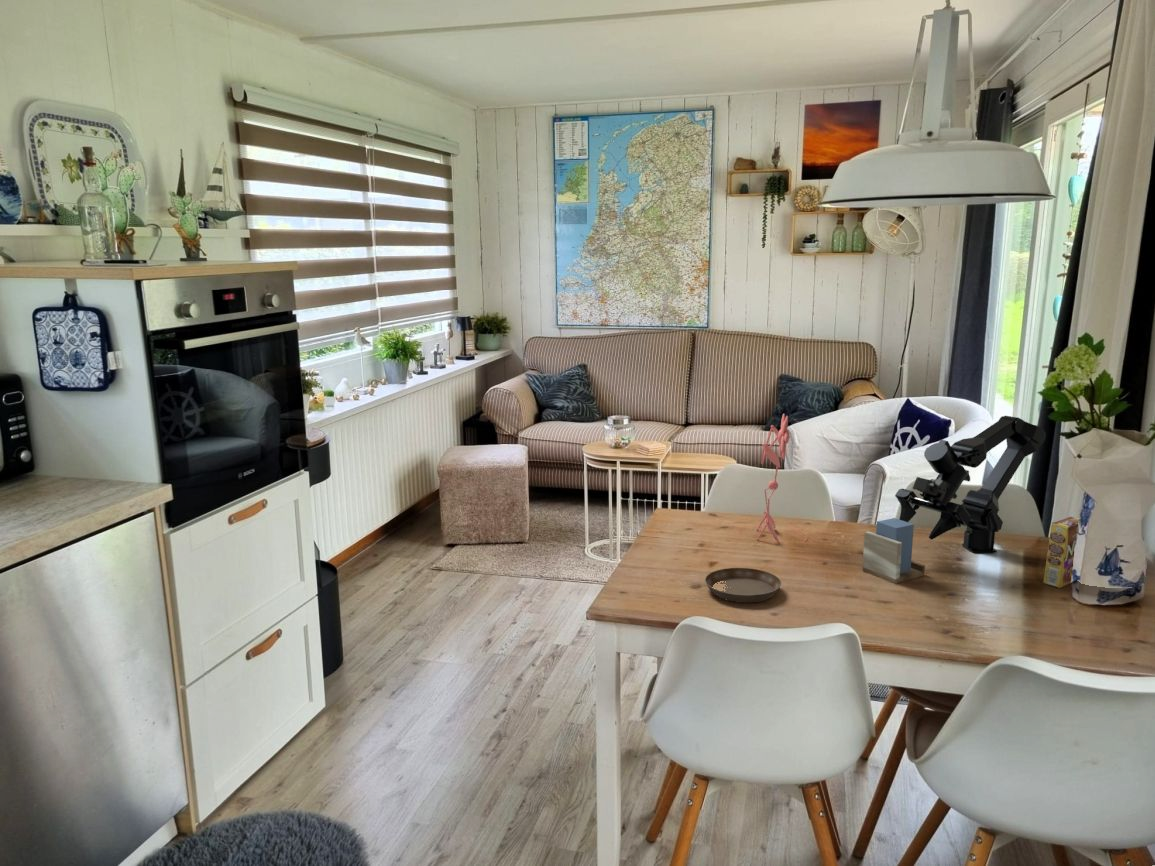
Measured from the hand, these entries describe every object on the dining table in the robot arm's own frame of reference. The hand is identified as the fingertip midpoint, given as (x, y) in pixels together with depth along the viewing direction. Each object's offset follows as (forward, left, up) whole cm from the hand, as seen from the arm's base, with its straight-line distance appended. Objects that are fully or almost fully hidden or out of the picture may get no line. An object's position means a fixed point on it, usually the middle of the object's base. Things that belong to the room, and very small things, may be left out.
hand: (914, 533), depth 209 cm
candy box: (-31, +12, -9) cm, 35 cm away
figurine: (+26, -26, -9) cm, 38 cm away
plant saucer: (+46, +13, -10) cm, 48 cm away
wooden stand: (+6, +3, -9) cm, 11 cm away
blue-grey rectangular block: (+6, +3, -8) cm, 11 cm away
